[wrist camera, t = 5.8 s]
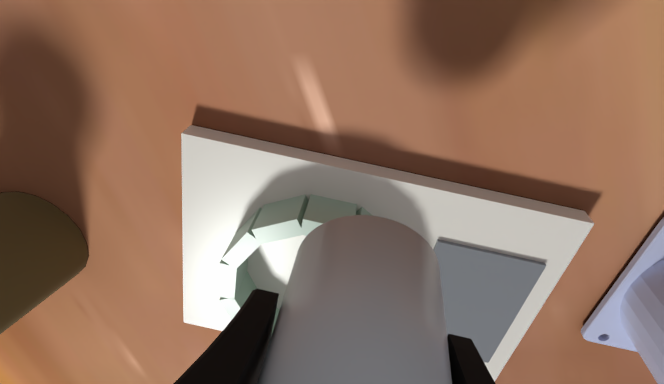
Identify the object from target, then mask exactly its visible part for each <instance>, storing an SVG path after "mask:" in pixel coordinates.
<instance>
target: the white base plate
mask: <svg viewBox="0 0 664 384" xmlns="http://www.w3.org/2000/svg"><path fill="white" fill-rule="evenodd" d="M181 137H182V225H183V312H184V322H185V323H189V324H193V325H198V326H202V327H207V328H211V329H216V330H220V331H223V330H224V329H225V328H226V326H227V325H228V324H229V323H230V321H231V320H232V319H233V318H234V316H235V315H236V314H237V312H238V311H239V310H240V308H241V307H242V306H243V304H244V303H245V301H246V300H247V298H248V297H249V295H250V294H251V292H252V290H255V289H262V290H266V291H270V292H274V293H279V296H278V302H277V307H276V313H275V319H274V324H273V330H274V326H275V323H276V320H277V317H278V313H279V310H280V307H281V304H282V300H283V297H284V294H285V291H286V288H287V284H288V281H289V278H290V275H291V271H292V268H293V265H294V262H295V258H296V255H297V252H298V249H299V247H300V245H301V243H302V241H303V240H304V239H305V237H306V236H307V235H308V234H309V233H310V232H311V231H312V230H314V229H315V228H317V227H318V226H320V225H322V224H323V223H325V222H328V221H330V220H333V219H336V218H340V217H344V216H352V215H371V216H379V217H384V218H388V219H391V220H394V221H397V222H399V223H401V224H404V225H406V226H408V227H409V228H411V229H413V230H414V231H416V232H417V233H418V234H420V235H421V236H422V237H423V238H424V239H425V240H426V241H427V242H428V243H429V245H430V246H431V247H432V249H433V250H434V252H435V254H436V256H437V259H438V262H439V268H440V276H441V285H442V294H443V304H444V313H445V322H446V331H447V336H448V334H453V335H457V336H461V337H466V338H470V339H472V341H473V343H474V345H475V347H476V348H477V350H478V352H479V354H480V356H481V358H482V360H483V361H484V363H485V365H486V367H487V369H488V371H489V373H490V375H491V376H492V378H493V380H494V382H495V380H496V378H497V377H498V375H499V374H500V372H501V371H502V369H503V367H504V366H505V364H506V363H507V361H508V360H509V358H510V356H511V355H512V353H513V352H514V350H515V348H516V347H517V345H518V344H519V342H520V341H521V339H522V337H523V336H524V334H525V333H526V331H527V329H528V328H529V326H530V325H531V323H532V322H533V320H534V318H535V317H536V315H537V314H538V312H539V310H540V309H541V307H542V306H543V304H544V303H545V301H546V299H547V298H548V296H549V295H550V293H551V292H552V290H553V288H554V287H555V285H556V284H557V282H558V280H559V279H560V277H561V276H562V274H563V273H564V271H565V269H566V268H567V266H568V265H569V263H570V261H571V260H572V258H573V257H574V255H575V254H576V252H577V250H578V249H579V247H580V246H581V244H582V242H583V241H584V239H585V238H586V236H587V235H588V233H589V231H590V230H591V228H592V227H593V225H594V223H593V221H592V220H591V219H590V217H589V216H588V215H587V213H586V212H585V211H583V210H578V209H573V208H569V207H564V206H560V205H555V204H551V203H546V202H541V201H537V200H532V199H528V198H523V197H519V196H514V195H509V194H505V193H500V192H496V191H491V190H487V189H482V188H477V187H473V186H468V185H464V184H459V183H455V182H450V181H445V180H441V179H436V178H432V177H427V176H423V175H418V174H413V173H409V172H404V171H400V170H395V169H391V168H386V167H381V166H377V165H372V164H368V163H363V162H359V161H354V160H349V159H345V158H340V157H336V156H331V155H327V154H322V153H317V152H313V151H308V150H304V149H299V148H294V147H290V146H285V145H281V144H276V143H272V142H267V141H262V140H258V139H253V138H249V137H244V136H240V135H235V134H230V133H226V132H221V131H217V130H212V129H208V128H203V127H198V126H194V125H190V126H189V127H188V128H187V129H186V130H185V131H184V132H182V133H181ZM273 330H272V333H273ZM271 336H272V335H271Z"/></svg>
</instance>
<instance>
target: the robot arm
mask: <svg viewBox="0 0 664 384" xmlns="http://www.w3.org/2000/svg"><path fill="white" fill-rule="evenodd" d="M278 296H279V293H274V292H270V291H266V290H262V289H255V290H252V292H251V294H250V295H249V297H248V298H247V300H246V301H245V303H244V304H243V306H242V307H241V308H240V310H239V311H238V312H237V314H236V315H235V316H234V318H233V319H232V320H231V321H230V323H229V324H228V325H227V326H226V328H225V329H224V330H223V331H222V332H221V333H220V335H219V336H218V337H217V338H216V339H215V340H214V342H213V343H212V344H211V345H210V346H209V347H208V348H207V350H206V351H205V352H204V353H203V354H202V355H201V356H200V357H199V358H198V359H197V360H196V361H195V362H194V363H193V364H192V365H191V366H190V367H189V368H188V370H187V371H186V372H185V373H184V374H183V375H182V376H181V377H180V378H179V379H178V380H177V381H176V382H175V383H174V384H257V381H258V378H259V375H260V372H261V368H262V365H263V362H264V359H265V355H266V352H267V349H268V346H269V343H270V339H271V335H272V330H273V324H274V319H275V313H276V307H277V302H278ZM581 334H582V336H583V338H584V339H585V340H587V341H591V342H595V343H600V344H604V345H609V346H613V347H618V348H622V349H627V350H631V351H636V352H638V353H639V354H640V356H641V357H642V359H643V361H644V362H645V364H646V365H647V367H648V369H649V370H650V372H651V374H652V375H653V377H654V378H655V380H656V382H657V383H658V384H664V217H663V218H662V219H661V221H660V222H659V223H658V225H657V226H656V227H655V229H654V230H653V232H652V233H651V234H650V236H649V237H648V238H647V240H646V241H645V242H644V244H643V245H642V247H641V248H640V249H639V251H638V252H637V253H636V255H635V256H634V257H633V259H632V260H631V262H630V263H629V264H628V266H627V267H626V268H625V270H624V271H623V272H622V274H621V275H620V277H619V278H618V279H617V281H616V282H615V283H614V285H613V286H612V288H611V289H610V290H609V292H608V293H607V294H606V296H605V297H604V298H603V300H602V301H601V303H600V304H599V305H598V307H597V308H596V309H595V311H594V312H593V313H592V315H591V316H590V318H589V319H588V320H587V322H586V323H585V324H584V326H583V327H582V329H581ZM447 340H448V350H449V359H450V368H451V377H452V384H495V382H494V380H493V378H492V376H491V375H490V373H489V371H488V369H487V367H486V365H485V363H484V361H483V360H482V358H481V356H480V354H479V352H478V350H477V348H476V347H475V345H474V343H473V341H472V339H470V338H466V337H461V336H457V335H453V334H448V336H447Z"/></svg>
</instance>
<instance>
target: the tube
mask: <svg viewBox="0 0 664 384" xmlns="http://www.w3.org/2000/svg"><path fill="white" fill-rule="evenodd" d="M257 384H452V377H451V368H450V359H449V350H448V340H447V331H446V322H445V313H444V304H443V294H442V285H441V276H440V268H439V262H438V259H437V256H436V254H435V252H434V250H433V249H432V247H431V246H430V245H429V243H428V242H427V241H426V240H425V239H424V238H423V237H422V236H421V235H420V234H418V233H417V232H416V231H414V230H413V229H411V228H409V227H408V226H406V225H404V224H401V223H399V222H397V221H394V220H391V219H388V218H384V217H379V216H371V215H352V216H344V217H340V218H336V219H333V220H330V221H328V222H325V223H323V224H322V225H320V226H318V227H317V228H315V229H314V230H312V231H311V232H310V233H309V234H308V235H307V236H306V237H305V239H304V240H303V241H302V243H301V245H300V247H299V249H298V252H297V255H296V258H295V262H294V265H293V268H292V271H291V275H290V278H289V281H288V284H287V288H286V291H285V294H284V297H283V300H282V304H281V307H280V310H279V313H278V317H277V320H276V323H275V326H274V330H273V333H272V336H271V339H270V343H269V346H268V349H267V352H266V355H265V359H264V362H263V365H262V368H261V372H260V375H259V378H258V381H257Z"/></svg>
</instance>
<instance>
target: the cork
mask: <svg viewBox="0 0 664 384" xmlns="http://www.w3.org/2000/svg"><path fill="white" fill-rule="evenodd" d="M87 260H88V249H87V243H86V241H85V239H84V237H83V235H82V233H81V231H80V229H79V228H78V227H77V226H76V225H75V223H74V222H73V221H72V220H71V219H70V218H69V217H68V216H67V215H66V214H65V213H64V212H62V211H61V210H60V209H58V208H57V207H56V206H54V205H53V204H51V203H49V202H47V201H45V200H43V199H41V198H39V197H37V196H34V195H30V194H26V193H21V192H2V193H0V334H1V333H2V332H4V331H5V330H6V329H8V328H9V327H10V326H11V325H13V324H14V323H15V322H17V321H18V320H19V319H20V318H22V317H23V316H24V315H26V314H27V313H28V312H29V311H31V310H32V309H33V308H35V307H36V306H37V305H38V304H40V303H41V302H42V301H44V300H45V299H46V298H48V297H49V296H50V295H51V294H53V293H54V292H55V291H57V290H58V289H59V288H60V287H62V286H63V285H64V284H66V283H67V282H68V281H69V280H71V279H72V278H73V277H75V276H76V275H77V274H78V273H79V272H80V271H81V270H82V269H83V268H84V267H85V266H86V263H87Z"/></svg>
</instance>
